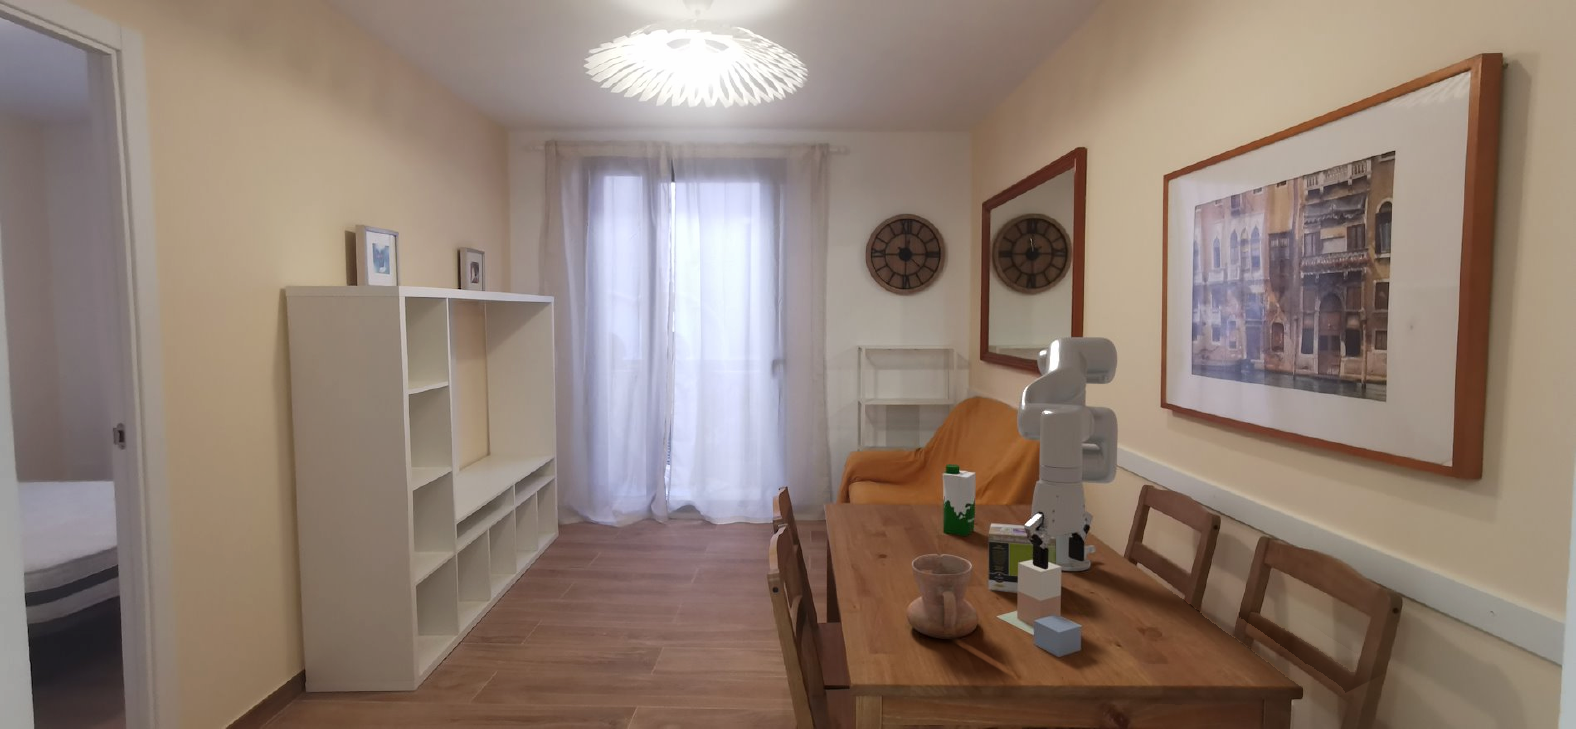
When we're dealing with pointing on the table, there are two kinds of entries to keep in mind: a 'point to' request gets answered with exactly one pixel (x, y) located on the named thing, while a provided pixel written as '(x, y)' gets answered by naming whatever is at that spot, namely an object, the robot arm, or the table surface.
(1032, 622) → the terracotta brick
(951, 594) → the ceramic jug
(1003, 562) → the tea box
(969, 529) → the milk carton
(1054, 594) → the cream brick
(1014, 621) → the plate
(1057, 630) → the slate brick
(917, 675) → the table surface
